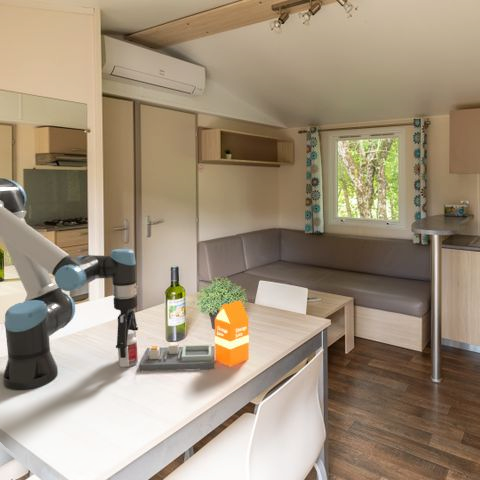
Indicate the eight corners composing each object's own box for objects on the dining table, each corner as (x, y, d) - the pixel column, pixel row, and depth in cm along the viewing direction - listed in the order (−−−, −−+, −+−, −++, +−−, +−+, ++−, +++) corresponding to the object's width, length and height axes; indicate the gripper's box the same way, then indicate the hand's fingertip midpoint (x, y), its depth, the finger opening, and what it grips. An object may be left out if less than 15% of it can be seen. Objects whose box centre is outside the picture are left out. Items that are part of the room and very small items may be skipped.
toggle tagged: (149, 359, 141) (149, 349, 140) (150, 355, 144) (150, 345, 143) (158, 358, 141) (158, 349, 140) (159, 355, 144) (159, 345, 143)
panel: (140, 370, 137) (139, 360, 136) (147, 353, 151) (146, 343, 150) (214, 368, 138) (214, 358, 138) (214, 351, 152) (214, 342, 152)
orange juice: (214, 359, 145) (214, 303, 142) (233, 352, 151) (232, 297, 149) (230, 366, 140) (230, 308, 137) (249, 358, 146) (249, 302, 143)
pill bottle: (140, 364, 142) (139, 332, 140) (122, 369, 138) (120, 336, 137) (133, 358, 147) (132, 327, 145) (116, 362, 144) (114, 331, 142)
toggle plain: (169, 354, 145) (168, 345, 144) (169, 350, 148) (169, 342, 147) (177, 353, 145) (177, 345, 144) (178, 350, 148) (178, 342, 147)
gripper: (129, 306, 127) (132, 373, 130) (143, 286, 152) (145, 342, 155) (103, 307, 127) (107, 374, 130) (122, 286, 151) (125, 343, 154)
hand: (128, 357), depth 142 cm, fingers open, 13 cm apart
